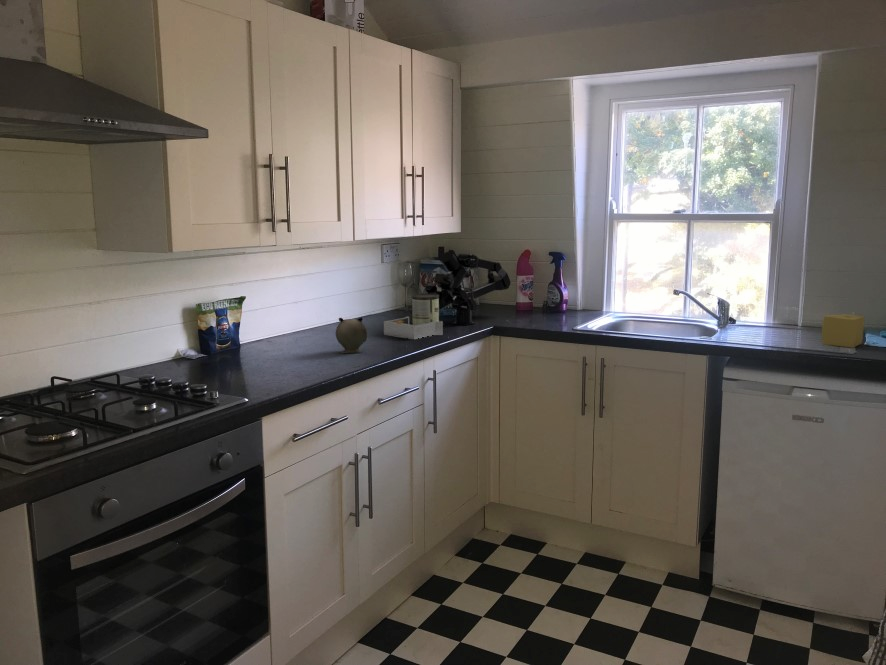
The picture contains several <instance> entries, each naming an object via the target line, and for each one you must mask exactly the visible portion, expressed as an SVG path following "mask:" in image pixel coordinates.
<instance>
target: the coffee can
mask: <svg viewBox="0 0 886 665" xmlns="http://www.w3.org/2000/svg"><path fill="white" fill-rule="evenodd" d="M411 303H412V306H411V307H412V325H417V324H422V323H428V322H434V321H440V318H439V317H440V310H439V295H438V294H428V293H415V294H412V295H411Z"/></svg>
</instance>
